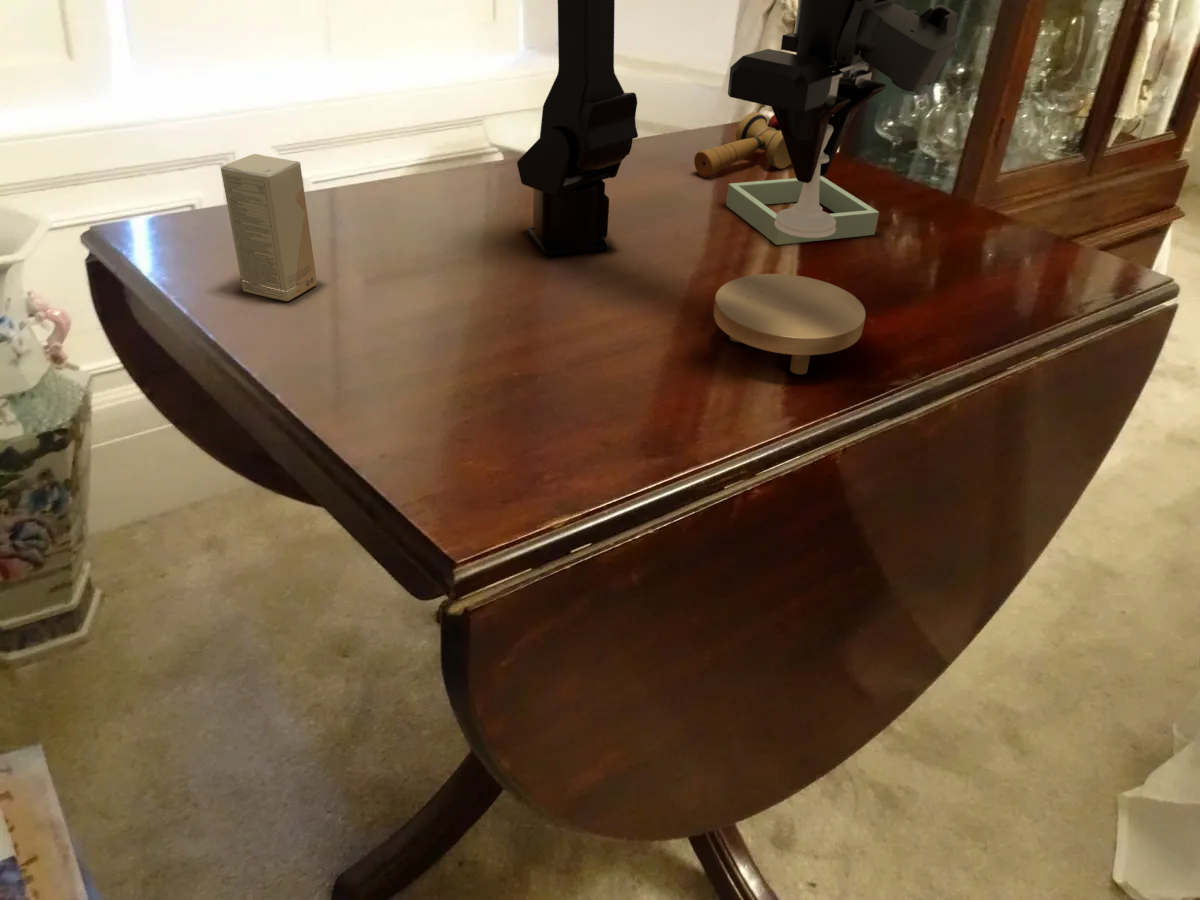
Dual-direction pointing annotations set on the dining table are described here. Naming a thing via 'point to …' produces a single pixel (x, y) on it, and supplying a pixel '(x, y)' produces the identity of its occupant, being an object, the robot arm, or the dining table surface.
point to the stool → (789, 316)
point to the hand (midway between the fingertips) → (811, 178)
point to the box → (270, 225)
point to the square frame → (755, 195)
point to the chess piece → (809, 207)
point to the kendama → (746, 146)
